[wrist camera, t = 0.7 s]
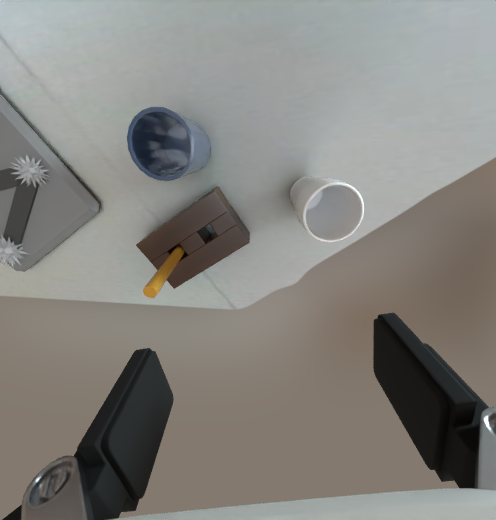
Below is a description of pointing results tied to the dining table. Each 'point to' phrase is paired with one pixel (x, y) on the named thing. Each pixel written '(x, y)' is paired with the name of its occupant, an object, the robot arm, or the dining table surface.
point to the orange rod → (163, 272)
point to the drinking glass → (327, 207)
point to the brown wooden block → (197, 237)
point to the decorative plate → (35, 195)
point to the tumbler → (167, 144)
